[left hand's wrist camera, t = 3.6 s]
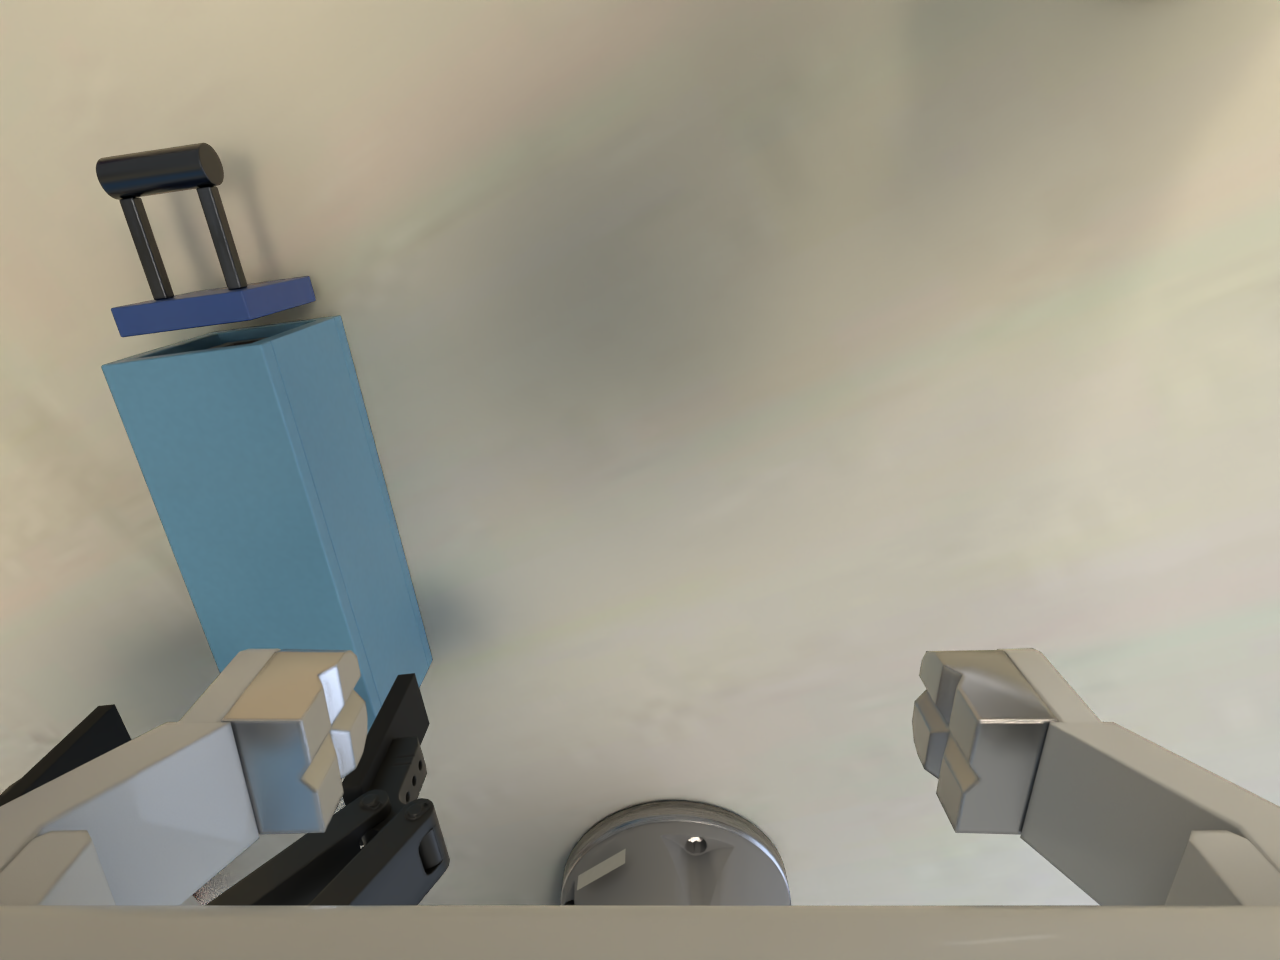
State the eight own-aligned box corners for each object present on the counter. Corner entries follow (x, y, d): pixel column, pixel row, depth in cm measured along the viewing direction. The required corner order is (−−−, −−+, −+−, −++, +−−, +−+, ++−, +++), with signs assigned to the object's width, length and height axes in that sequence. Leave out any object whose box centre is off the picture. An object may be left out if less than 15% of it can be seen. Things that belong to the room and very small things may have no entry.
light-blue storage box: (211, 332, 38) (99, 365, 30) (340, 315, 37) (260, 344, 30) (323, 671, 45) (255, 768, 37) (433, 660, 45) (387, 755, 37)
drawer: (157, 165, 34) (53, 157, 28) (274, 147, 34) (194, 136, 28) (311, 632, 43) (256, 701, 37) (405, 622, 43) (365, 690, 37)
